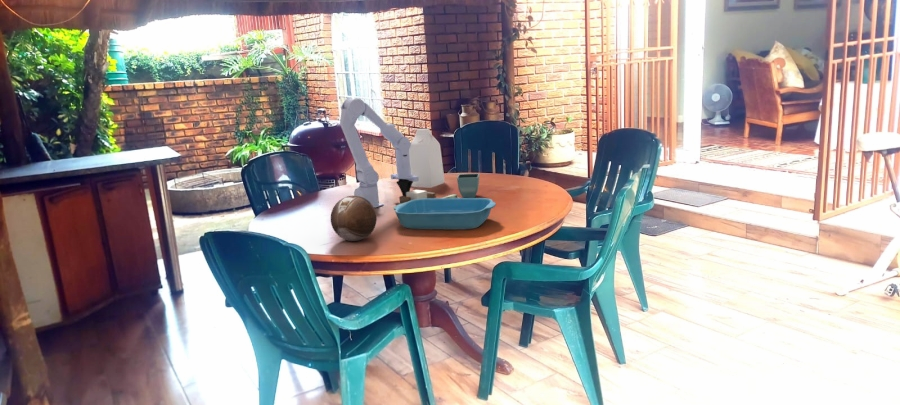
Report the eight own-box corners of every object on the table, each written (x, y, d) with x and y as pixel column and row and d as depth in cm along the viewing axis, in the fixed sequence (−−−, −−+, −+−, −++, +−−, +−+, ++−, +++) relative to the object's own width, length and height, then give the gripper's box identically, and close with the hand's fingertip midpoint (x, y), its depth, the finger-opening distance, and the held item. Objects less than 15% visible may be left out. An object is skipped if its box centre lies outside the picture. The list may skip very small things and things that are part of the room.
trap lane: (427, 212, 243) (426, 203, 242) (390, 206, 257) (389, 198, 256) (468, 199, 260) (468, 191, 259) (431, 194, 274) (431, 186, 273)
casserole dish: (385, 231, 221) (383, 211, 219) (408, 215, 241) (406, 197, 240) (488, 233, 209) (487, 212, 208) (503, 216, 230) (502, 197, 229)
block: (417, 204, 258) (416, 193, 257) (406, 203, 262) (406, 192, 261) (427, 201, 262) (426, 190, 261) (416, 200, 266) (416, 189, 265)
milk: (444, 182, 299) (440, 127, 293) (431, 187, 290) (427, 130, 284) (423, 181, 305) (419, 127, 300) (409, 186, 296) (405, 130, 290)
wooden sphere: (326, 247, 205) (321, 202, 202) (341, 234, 220) (337, 192, 216) (371, 246, 203) (367, 200, 199) (383, 233, 217) (379, 190, 214)
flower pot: (480, 194, 269) (479, 173, 267) (479, 198, 260) (478, 177, 258) (459, 195, 270) (458, 174, 268) (458, 199, 261) (456, 178, 259)
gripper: (422, 164, 261) (425, 196, 264) (398, 162, 271) (400, 193, 274) (410, 167, 256) (413, 200, 259) (386, 165, 266) (388, 196, 269)
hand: (406, 197), depth 266 cm, fingers closed
